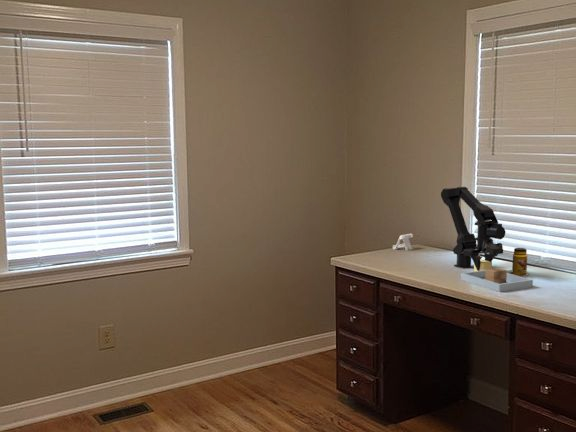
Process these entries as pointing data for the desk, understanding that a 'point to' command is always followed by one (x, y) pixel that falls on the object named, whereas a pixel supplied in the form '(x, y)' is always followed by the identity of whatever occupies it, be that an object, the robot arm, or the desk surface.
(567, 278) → the desk surface
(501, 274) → the walnut block
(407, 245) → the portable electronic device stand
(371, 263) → the desk surface
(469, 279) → the gray tray
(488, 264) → the mustard box
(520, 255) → the condiment
